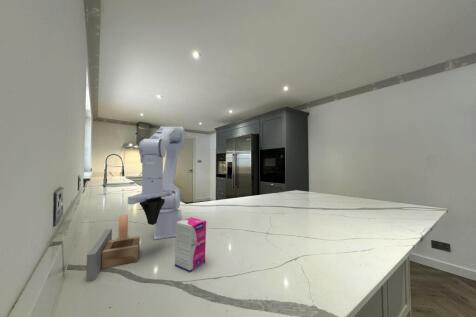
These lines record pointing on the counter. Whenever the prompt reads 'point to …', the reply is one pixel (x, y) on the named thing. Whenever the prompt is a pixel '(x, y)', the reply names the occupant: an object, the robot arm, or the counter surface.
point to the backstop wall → (97, 255)
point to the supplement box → (190, 243)
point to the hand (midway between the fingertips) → (152, 223)
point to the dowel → (123, 227)
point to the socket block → (121, 252)
